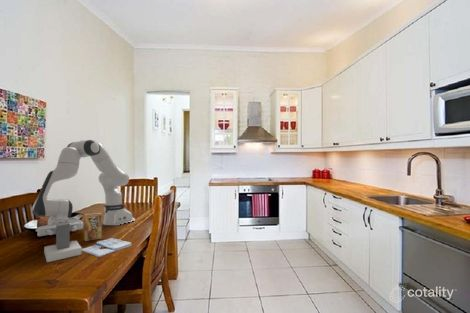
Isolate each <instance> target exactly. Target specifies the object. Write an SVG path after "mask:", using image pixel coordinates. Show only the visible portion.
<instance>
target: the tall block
mask: <svg viewBox="0 0 470 313" xmlns="http://www.w3.org/2000/svg"><path fill="white" fill-rule="evenodd" d="M70 233H71V231H70V224H69V223H68V222H65V223H58V224H56V234H55V235H56V239H55V245H56V248H57V250H59V249H64V248H69V247H70V242H71V241H70V237H71V236H70Z"/></svg>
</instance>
